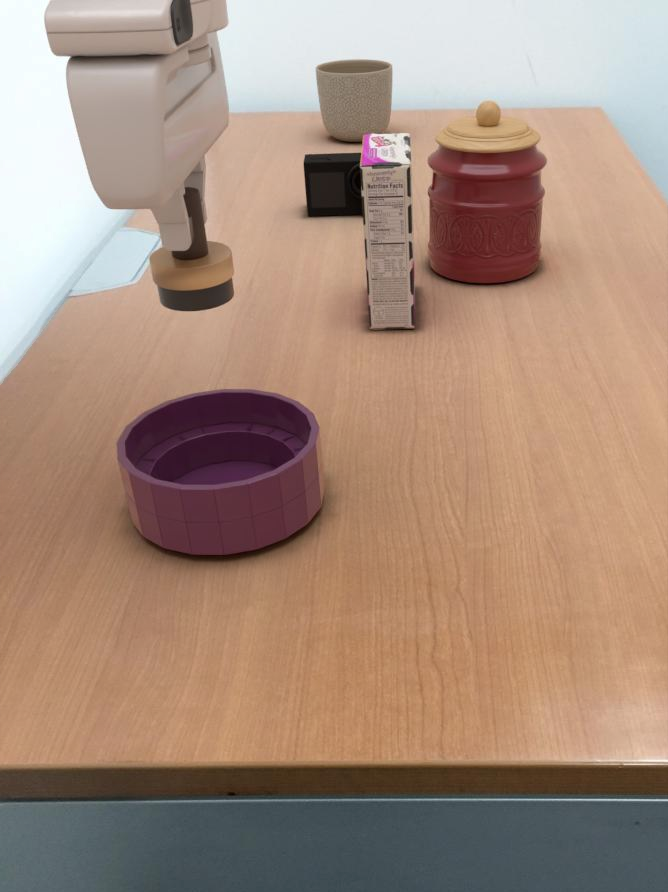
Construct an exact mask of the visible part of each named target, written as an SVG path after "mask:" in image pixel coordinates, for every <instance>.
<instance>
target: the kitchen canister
mask: <svg viewBox="0 0 668 892" xmlns="http://www.w3.org/2000/svg"><path fill="white" fill-rule="evenodd" d="M541 137H542V136H541V134H540V133H539V132H538V131H537V130H535V129H534V128H533V127H531V126H529V124H528V122H527V121H525V120H523V119H520V118H517V117H511V116H502V112H501V108H500V106H499V104H498V103H497V102H496V101H493V100H485V101H482V102H481V103H479V105H478V106H477V109H476V113H475V115H473V116H467V117H466V116H465V117H461V118H457V119H455V120H452V121H450V122H449V124H448V125H447V126H446V127H444V128H442V129H441V130H440V131H438V132H437V133H436V134H435V138H434V139H435V143H437V144H438V147H437V149H435V150H434V151H433V152H431V154H430V155H429V156H428V157H427V165H428V166H429V168H430V169H431V170H432V176H431V184H430V185H429V186H428V189H427V196H428V202H429V203H428V206H429V207H428V208H429V210H428V211H429V213H428V215H429V216H428V217H429V220H428V221H429V222H428V223H429V229H428V230H429V239H428V243H427V248H428V250H427V256H428V258H429V264H430V268H431V269H432V270H433V271H434V272H435V273H436V274H438V275H440V276H442V277H444V278H446V279H450V280H454V281H458V282H464V283H473V284H497V283H498V284H499V283H506V282H511V281H516V280H519V279H523V278H524V277H527V276H529V275H531V274H532V273H534V272H535V271H536V269H537V268H538V265H539V261H540V258H541V255H542V251H541V250H542V242H541V232H542V217H543V203H544V202H543V201H544V197H545V195H546V189H545V187H544V186H543V185H542V170H543V169H544V168H545V167H546V165H547V163H548V158H547V156H546V155H545V154H544V153H543V152H542V151H541V150H539V149H538V147H537V145H538V144H539V143H540V141H541V140H542V139H541Z"/></svg>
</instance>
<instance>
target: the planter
mask: <svg viewBox="0 0 668 892" xmlns="http://www.w3.org/2000/svg"><path fill="white" fill-rule="evenodd" d="M393 77H394V76H393V64H392V63H391V62H388V61H384V60H379V59H378V60H377V59H364V58H363V59H362V58H361V59H360V58H359V59H356V58H355V59H340V60H333V61H327V62H323V63H321V64H317V65H316V67H315V81H316V89H317V97H318V103H319V110H320V116H321V120H322V124H323V127H324V129H325V130H326V132H327V133H328V134H329V135H330V136H331V137H333V138H334V139H336V140H338V141H340V142H348V143H362V141H363V135H366V134H372V133H377V134H381V133H383V132H384V133H386V131H387V129H388V127H389V126H390V122H391V115H392V102H393V101H392V100H393Z"/></svg>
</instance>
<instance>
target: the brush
mask: <svg viewBox="0 0 668 892" xmlns="http://www.w3.org/2000/svg"><path fill="white" fill-rule="evenodd" d="M183 197H184V201H185V205H186V209H187V213H188V216H192V222H193V231H194V236H195V238H194V240H193V242H192V244H191V246H190V248H189V249H188V250H186V251H168V250H166V249H165V248H164V247H163V246H162V247H160V248H158V249H156V250H154V251H153V252H152V253H151V254H150V255H149V258H148V261H149V262H148V263H149V265H150V271H151V272H150V273H151V277H152V282H153V283H154V284H155V286H156V287H157V293H158V297H159V298H158V299H159V303H160V304H161V306H163V307H164V308H166V309H168V310H172V311H176V312H201V311H202V312H203V311H206V310H207V311H208V310H211V309H215V308H218V307H221V306H224V305H226V304H227V303H229V302H231V300H232V299H233V298H234V297H235V288H234V282H233V277H234V274H235V268H234V267H235V266H234V259H233V255H232V254H233V251H232V249H231V248H230V246H228V245H226V244H224V243H221V242H218V241H211V240H208V238H207V231H206V226H205V225H206V224H205V225H204V218H203V211H202V205H201V198H200V192H199V190H198V189H196V188H191V187H185V194H184V195H183Z"/></svg>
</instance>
